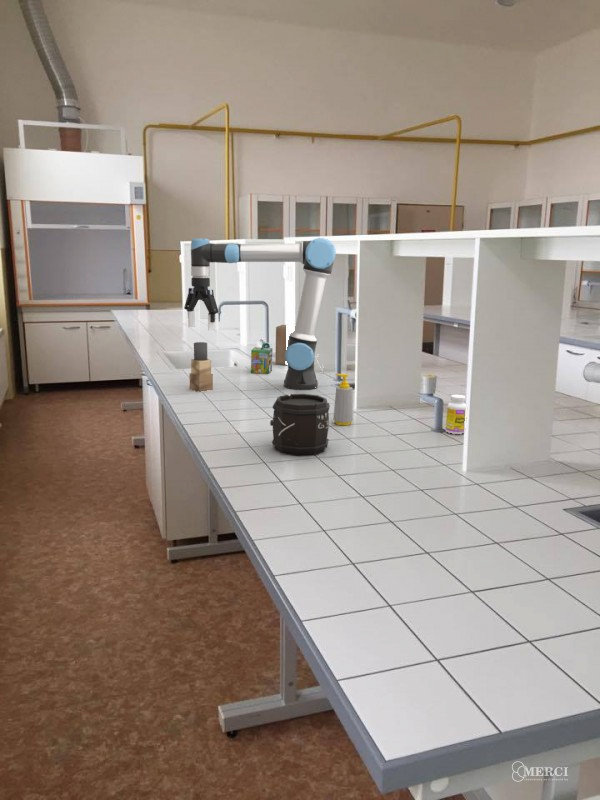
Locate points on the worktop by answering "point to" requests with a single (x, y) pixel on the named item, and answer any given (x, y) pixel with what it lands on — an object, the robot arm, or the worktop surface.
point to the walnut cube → (201, 382)
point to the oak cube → (201, 367)
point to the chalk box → (261, 360)
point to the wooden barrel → (300, 424)
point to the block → (280, 344)
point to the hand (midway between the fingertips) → (201, 328)
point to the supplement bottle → (456, 415)
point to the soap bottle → (343, 403)
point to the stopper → (200, 351)
